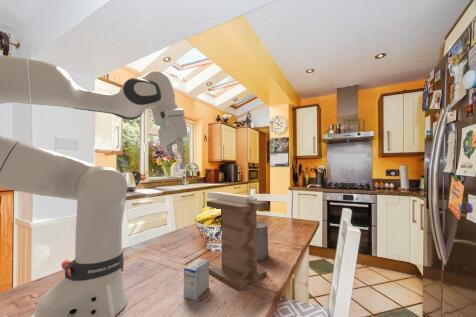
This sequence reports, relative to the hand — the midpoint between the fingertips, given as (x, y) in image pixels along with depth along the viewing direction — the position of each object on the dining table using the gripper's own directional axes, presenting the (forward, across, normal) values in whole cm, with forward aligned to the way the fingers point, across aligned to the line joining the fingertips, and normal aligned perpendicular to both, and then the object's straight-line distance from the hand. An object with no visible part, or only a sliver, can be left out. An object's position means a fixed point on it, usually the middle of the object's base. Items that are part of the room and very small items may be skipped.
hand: (176, 155), depth 79 cm
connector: (+21, +3, +15) cm, 26 cm away
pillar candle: (+49, -5, +26) cm, 56 cm away
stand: (+47, +4, +10) cm, 48 cm away
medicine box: (+44, +7, -7) cm, 45 cm away
